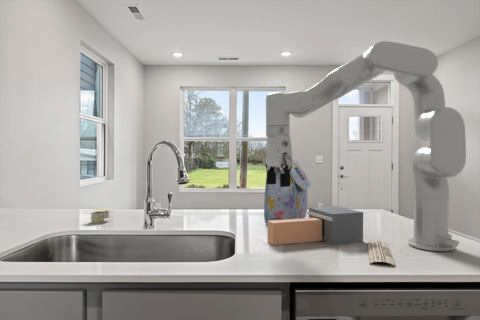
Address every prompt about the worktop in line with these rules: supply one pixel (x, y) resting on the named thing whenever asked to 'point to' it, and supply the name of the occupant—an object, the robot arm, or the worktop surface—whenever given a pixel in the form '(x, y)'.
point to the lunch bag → (287, 196)
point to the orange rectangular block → (294, 231)
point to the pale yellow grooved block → (99, 215)
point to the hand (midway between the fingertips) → (278, 185)
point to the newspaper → (379, 252)
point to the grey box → (339, 224)
